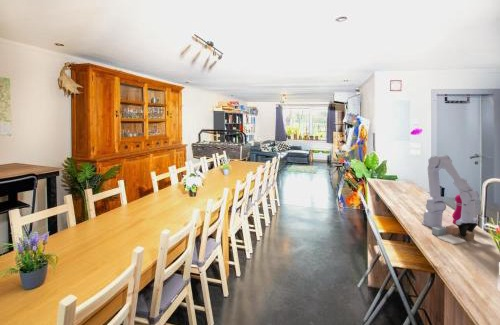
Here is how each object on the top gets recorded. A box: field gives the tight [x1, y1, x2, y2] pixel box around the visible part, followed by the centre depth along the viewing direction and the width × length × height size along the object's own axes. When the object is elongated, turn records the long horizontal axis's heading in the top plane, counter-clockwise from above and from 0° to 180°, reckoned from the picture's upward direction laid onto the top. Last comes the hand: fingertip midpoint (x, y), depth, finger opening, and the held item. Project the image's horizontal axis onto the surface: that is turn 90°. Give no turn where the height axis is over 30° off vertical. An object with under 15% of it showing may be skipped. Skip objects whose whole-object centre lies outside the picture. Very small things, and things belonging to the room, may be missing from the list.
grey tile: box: [437, 234, 467, 245], centre depth 156 cm, size 9×9×1 cm
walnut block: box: [457, 230, 475, 241], centre depth 158 cm, size 6×4×4 cm, turn 18°
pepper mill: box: [451, 192, 462, 225], centre depth 178 cm, size 7×7×20 cm
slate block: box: [431, 226, 447, 237], centre depth 164 cm, size 6×4×4 cm, turn 107°
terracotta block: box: [445, 224, 459, 236], centre depth 165 cm, size 6×4×4 cm, turn 111°
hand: (465, 235), depth 158 cm, fingers closed on walnut block, 4 cm apart
